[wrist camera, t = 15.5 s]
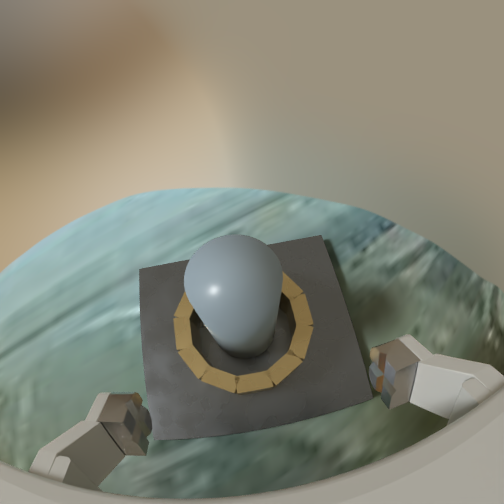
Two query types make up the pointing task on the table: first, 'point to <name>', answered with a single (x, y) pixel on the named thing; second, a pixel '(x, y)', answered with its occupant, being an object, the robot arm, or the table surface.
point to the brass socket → (301, 332)
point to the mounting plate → (259, 403)
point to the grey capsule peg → (236, 292)
